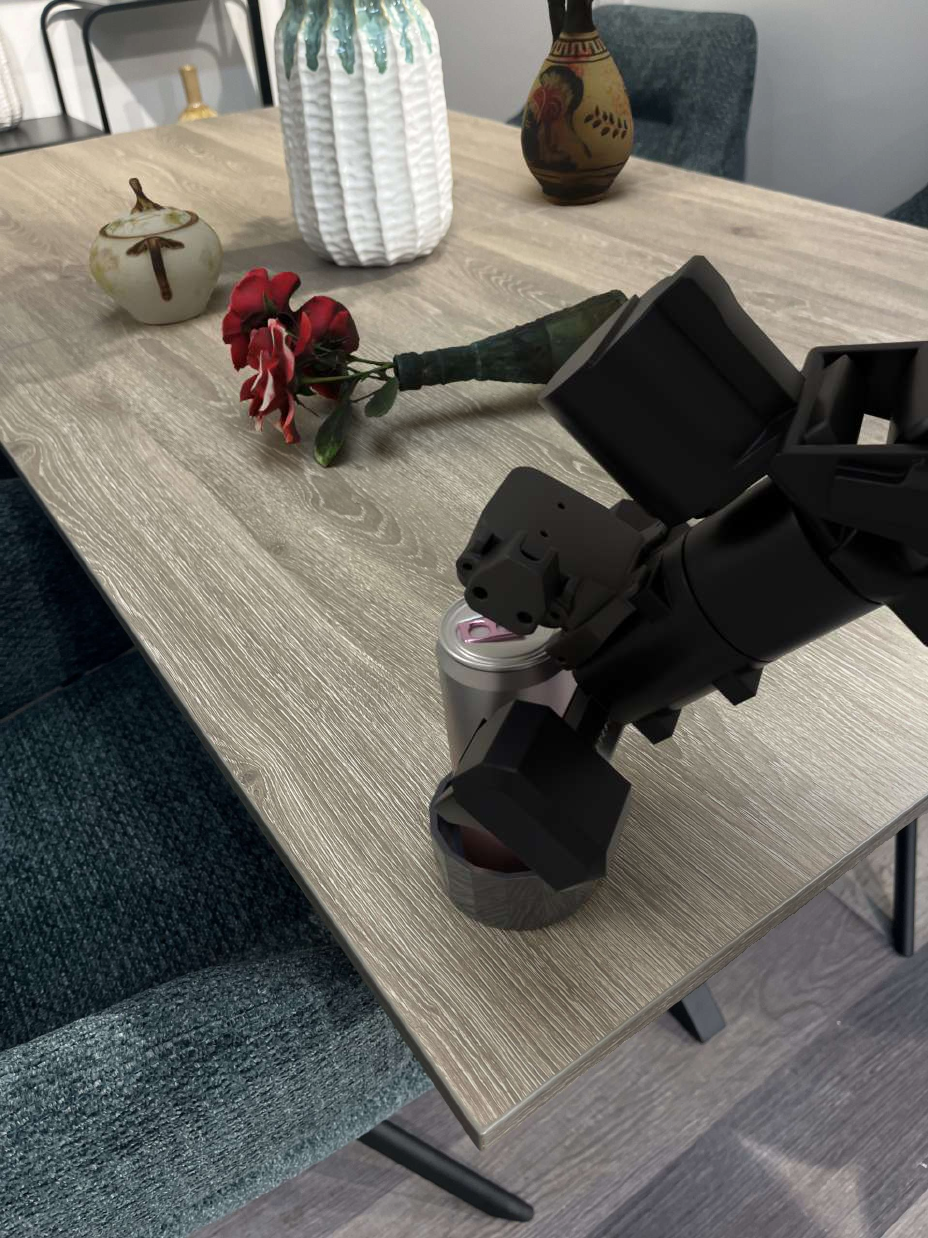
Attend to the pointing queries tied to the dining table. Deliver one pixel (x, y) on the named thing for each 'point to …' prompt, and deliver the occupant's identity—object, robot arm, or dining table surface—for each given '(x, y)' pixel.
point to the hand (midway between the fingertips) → (480, 740)
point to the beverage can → (491, 696)
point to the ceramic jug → (576, 112)
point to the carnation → (327, 335)
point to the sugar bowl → (157, 261)
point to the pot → (495, 883)
